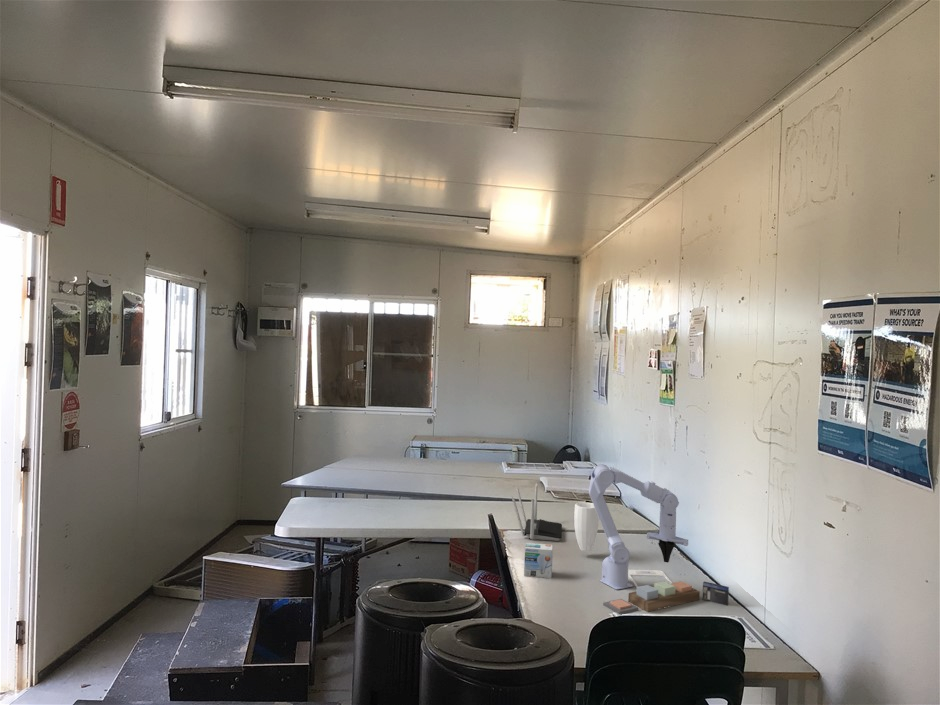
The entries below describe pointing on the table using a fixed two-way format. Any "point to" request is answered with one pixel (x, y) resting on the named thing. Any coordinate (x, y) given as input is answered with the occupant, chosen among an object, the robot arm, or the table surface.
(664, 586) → the block sage
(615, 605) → the tile
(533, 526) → the wireless router
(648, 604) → the wooden block tray
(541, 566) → the light bulb box
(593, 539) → the cup
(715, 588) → the mini dv tape
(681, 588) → the block terracotta
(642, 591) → the block slate
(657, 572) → the photo frame
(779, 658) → the table surface
